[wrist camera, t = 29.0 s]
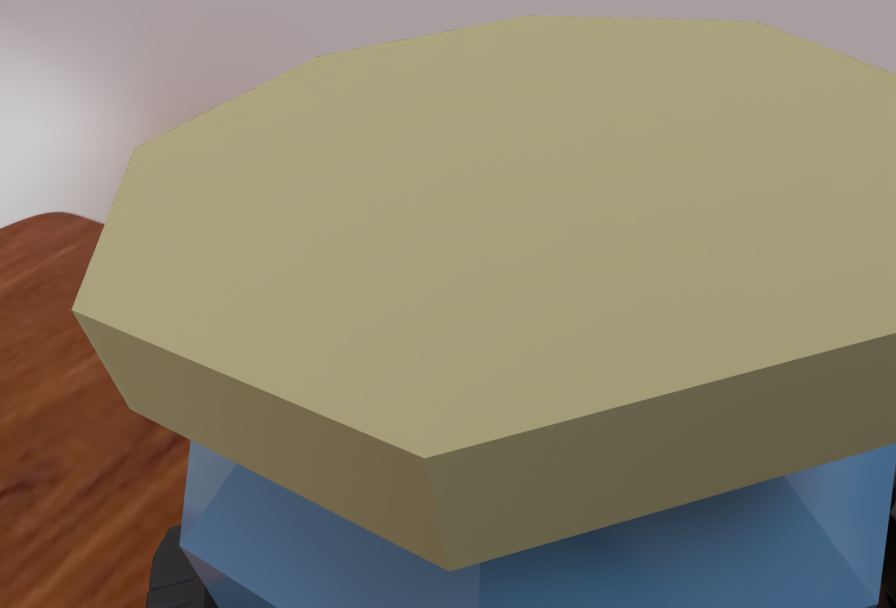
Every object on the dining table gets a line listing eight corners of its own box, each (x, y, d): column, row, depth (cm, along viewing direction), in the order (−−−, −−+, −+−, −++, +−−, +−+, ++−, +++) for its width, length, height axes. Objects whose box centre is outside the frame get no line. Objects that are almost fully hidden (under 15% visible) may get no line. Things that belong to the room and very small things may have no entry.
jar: (844, 760, 15) (1264, 90, 6) (530, 1156, 11) (283, 1057, 2) (556, 496, 21) (537, -18, 12) (295, 690, 17) (-19, 156, 8)
